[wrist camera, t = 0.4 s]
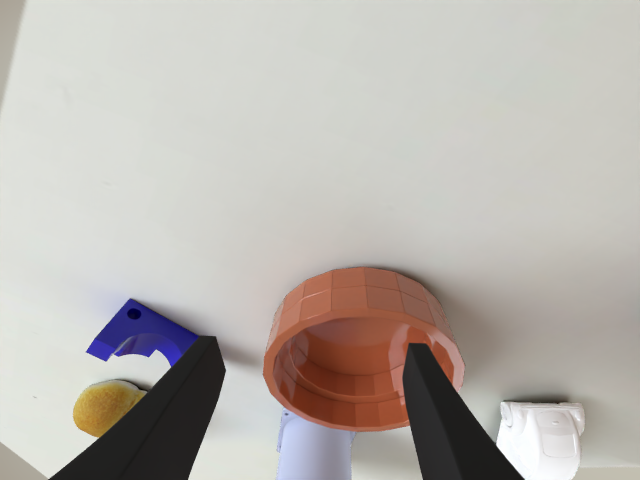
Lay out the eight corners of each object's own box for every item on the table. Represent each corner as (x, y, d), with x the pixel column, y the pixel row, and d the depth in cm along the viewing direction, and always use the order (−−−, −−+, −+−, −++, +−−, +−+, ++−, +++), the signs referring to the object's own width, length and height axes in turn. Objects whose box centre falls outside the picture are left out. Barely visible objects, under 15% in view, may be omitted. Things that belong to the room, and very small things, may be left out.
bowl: (412, 389, 28) (424, 442, 24) (270, 368, 27) (259, 418, 24) (472, 278, 21) (502, 328, 17) (282, 248, 20) (269, 292, 17)
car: (504, 389, 27) (532, 447, 23) (577, 390, 26) (619, 449, 22) (478, 453, 33) (497, 507, 29) (537, 455, 33) (565, 510, 29)
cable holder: (114, 320, 25) (79, 361, 22) (129, 298, 24) (94, 338, 20) (197, 363, 28) (177, 406, 24) (216, 345, 26) (197, 388, 23)
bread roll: (100, 365, 29) (67, 406, 25) (184, 402, 31) (165, 443, 28) (78, 401, 33) (47, 441, 29) (155, 431, 35) (135, 471, 32)
